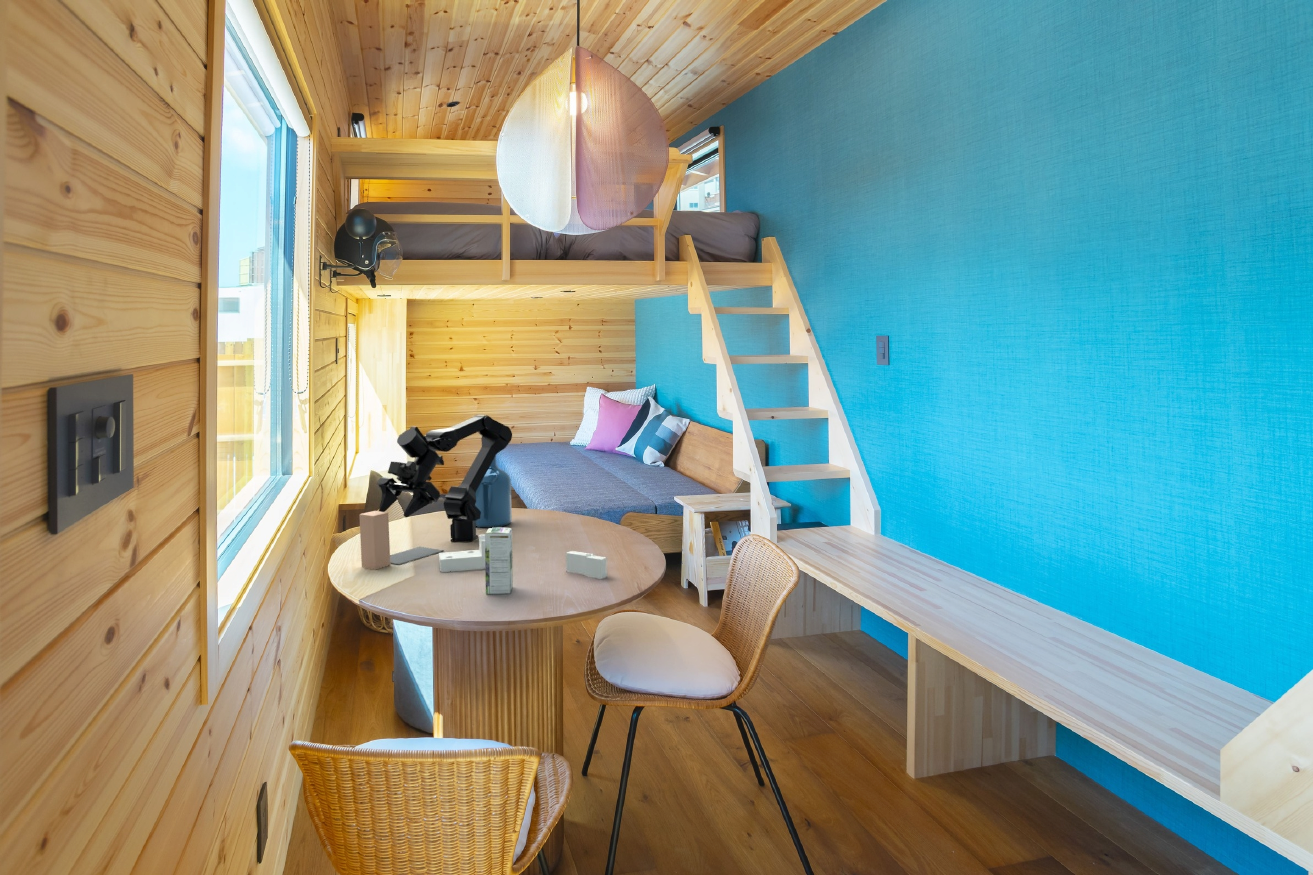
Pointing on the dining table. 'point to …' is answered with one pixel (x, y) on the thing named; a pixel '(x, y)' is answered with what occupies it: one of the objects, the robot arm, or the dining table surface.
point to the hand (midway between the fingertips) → (392, 514)
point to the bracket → (464, 559)
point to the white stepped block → (586, 564)
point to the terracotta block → (374, 539)
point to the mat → (412, 555)
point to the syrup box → (498, 560)
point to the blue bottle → (494, 498)
